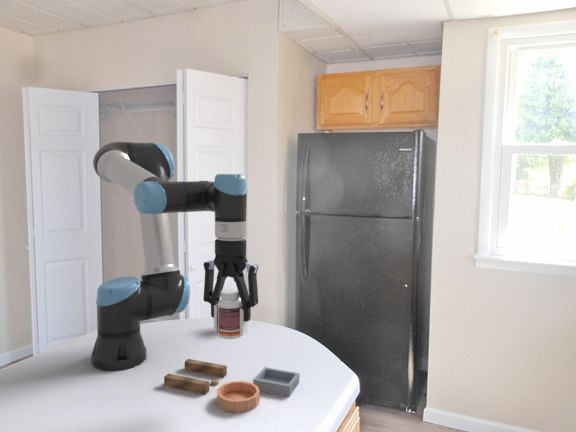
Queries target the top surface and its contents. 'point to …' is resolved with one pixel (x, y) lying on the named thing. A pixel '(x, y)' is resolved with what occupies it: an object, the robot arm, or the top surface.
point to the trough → (277, 381)
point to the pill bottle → (229, 314)
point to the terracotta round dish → (238, 396)
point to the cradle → (196, 384)
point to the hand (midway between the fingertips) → (230, 331)
